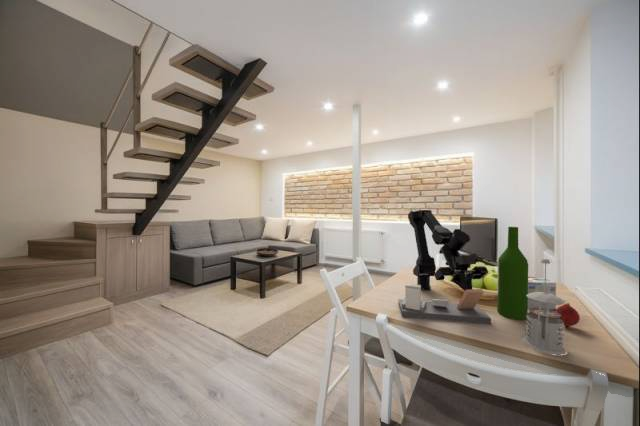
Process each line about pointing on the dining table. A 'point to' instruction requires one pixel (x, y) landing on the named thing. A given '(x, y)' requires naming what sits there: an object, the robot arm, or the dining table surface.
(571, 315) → the onion
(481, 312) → the control console
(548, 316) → the french press
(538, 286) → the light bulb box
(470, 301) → the tan rectangular board
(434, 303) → the rocker switch
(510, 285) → the wine bottle
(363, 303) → the dining table surface
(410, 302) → the slider button
